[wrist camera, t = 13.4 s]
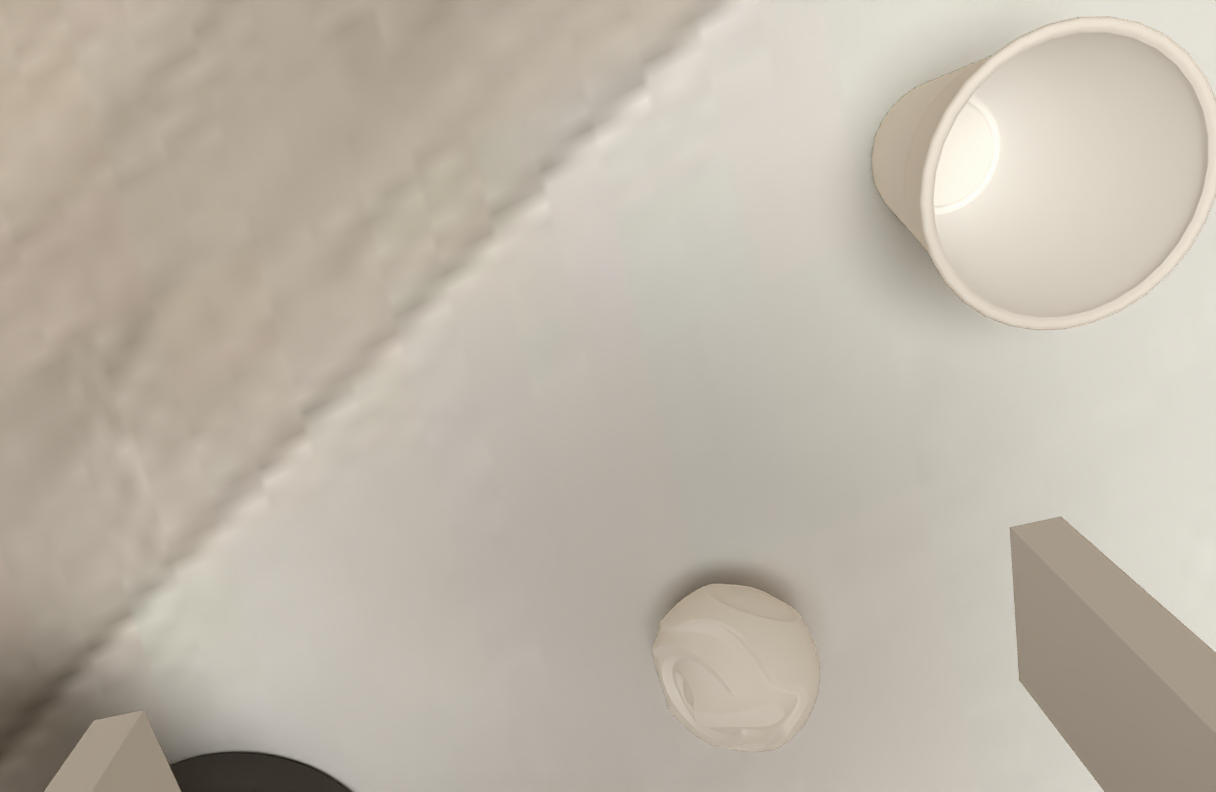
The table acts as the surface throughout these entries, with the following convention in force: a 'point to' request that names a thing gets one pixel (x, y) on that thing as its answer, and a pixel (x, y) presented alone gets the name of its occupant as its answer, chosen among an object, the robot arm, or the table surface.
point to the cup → (1055, 170)
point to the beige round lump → (737, 667)
